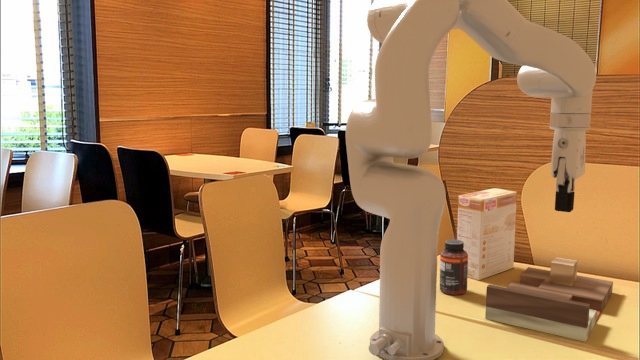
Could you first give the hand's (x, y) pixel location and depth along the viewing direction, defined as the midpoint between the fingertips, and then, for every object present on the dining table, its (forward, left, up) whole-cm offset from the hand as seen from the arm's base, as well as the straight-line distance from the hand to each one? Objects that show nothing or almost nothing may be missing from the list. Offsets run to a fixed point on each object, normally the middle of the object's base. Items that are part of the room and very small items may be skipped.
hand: (563, 210), depth 118 cm
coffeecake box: (+9, +19, -19) cm, 29 cm away
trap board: (-5, 0, -19) cm, 20 cm away
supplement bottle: (-9, +20, -19) cm, 29 cm away
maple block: (+4, 0, -17) cm, 17 cm away
